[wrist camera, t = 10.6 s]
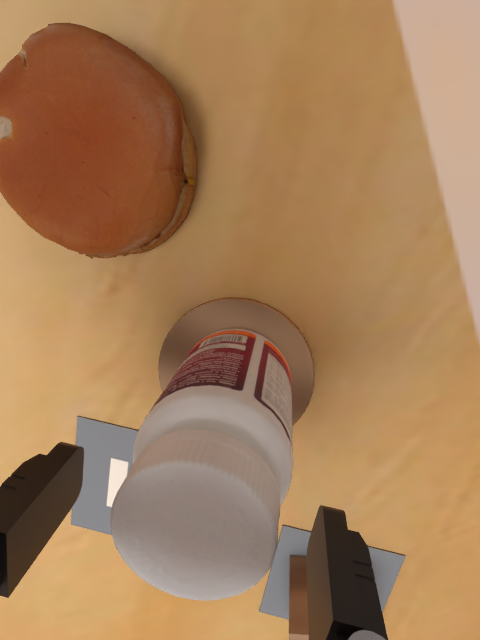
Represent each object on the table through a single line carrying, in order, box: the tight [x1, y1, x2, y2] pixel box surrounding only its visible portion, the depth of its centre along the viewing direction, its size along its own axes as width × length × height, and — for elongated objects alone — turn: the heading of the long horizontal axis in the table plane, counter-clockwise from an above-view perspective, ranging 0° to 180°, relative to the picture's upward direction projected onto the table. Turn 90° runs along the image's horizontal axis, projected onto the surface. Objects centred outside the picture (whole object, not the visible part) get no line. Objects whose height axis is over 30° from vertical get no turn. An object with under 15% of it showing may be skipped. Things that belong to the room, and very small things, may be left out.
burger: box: [0, 23, 197, 259], centre depth 18 cm, size 10×9×5 cm
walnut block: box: [289, 555, 309, 640], centre depth 24 cm, size 5×5×5 cm
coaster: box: [159, 298, 314, 426], centre depth 23 cm, size 9×9×1 cm
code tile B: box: [259, 525, 405, 620], centre depth 27 cm, size 8×8×1 cm
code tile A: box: [71, 416, 138, 535], centre depth 26 cm, size 9×9×1 cm
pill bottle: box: [110, 329, 293, 600], centre depth 17 cm, size 6×6×11 cm
